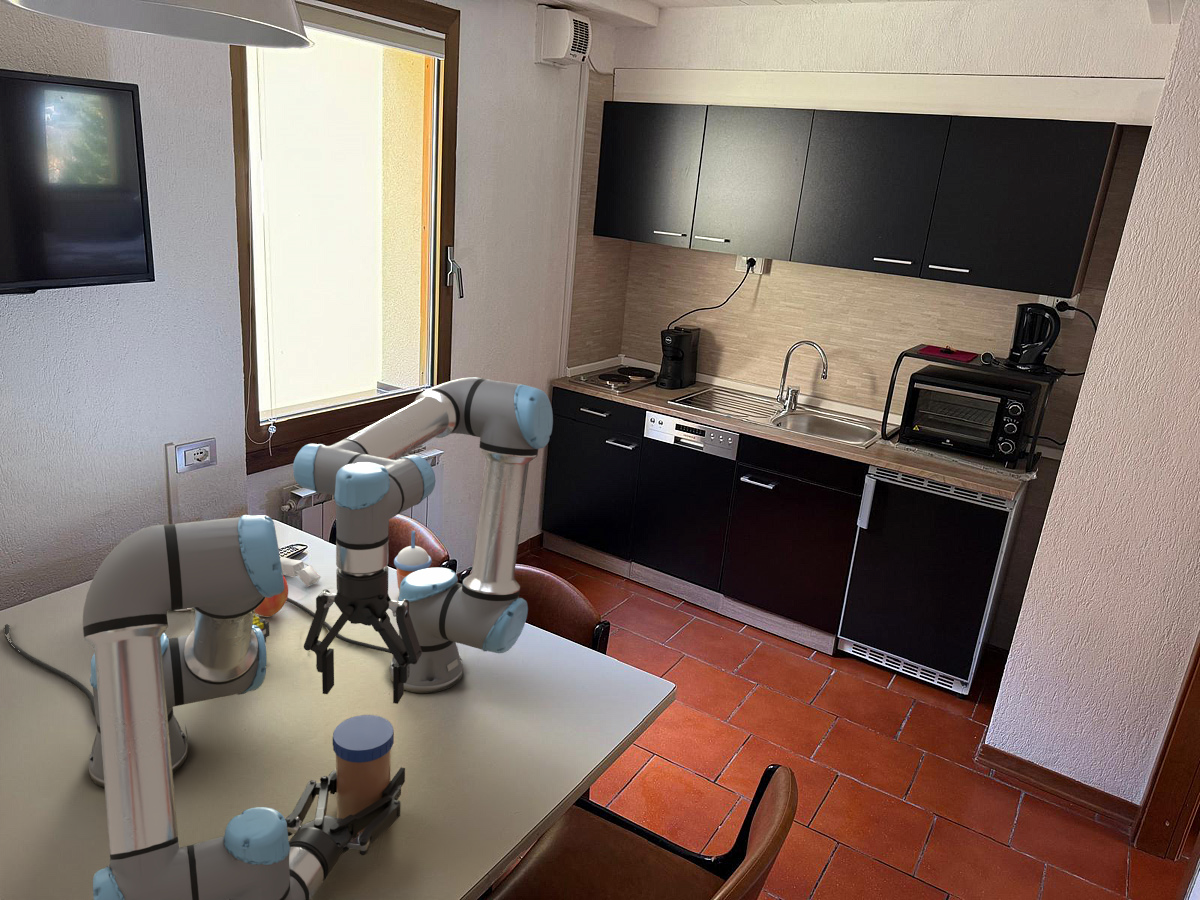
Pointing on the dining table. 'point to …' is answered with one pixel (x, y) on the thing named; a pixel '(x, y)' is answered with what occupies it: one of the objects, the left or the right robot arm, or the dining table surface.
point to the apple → (273, 603)
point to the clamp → (299, 570)
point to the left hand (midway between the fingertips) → (377, 768)
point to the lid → (363, 738)
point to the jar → (360, 784)
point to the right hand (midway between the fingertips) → (363, 694)
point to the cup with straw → (411, 560)
